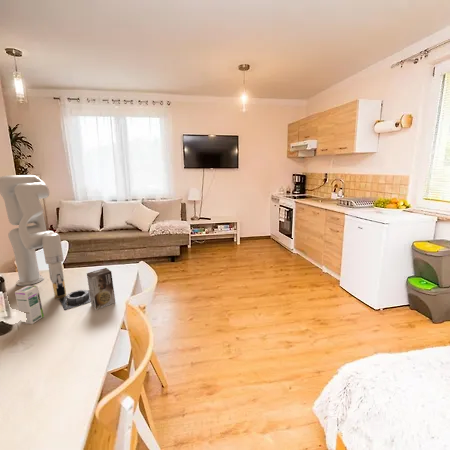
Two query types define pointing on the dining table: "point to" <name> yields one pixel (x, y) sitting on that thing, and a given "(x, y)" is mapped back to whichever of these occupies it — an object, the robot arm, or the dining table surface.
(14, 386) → the dining table surface
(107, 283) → the coffee box
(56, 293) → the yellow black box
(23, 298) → the syrup box
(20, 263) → the robot arm
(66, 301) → the ring fixture
